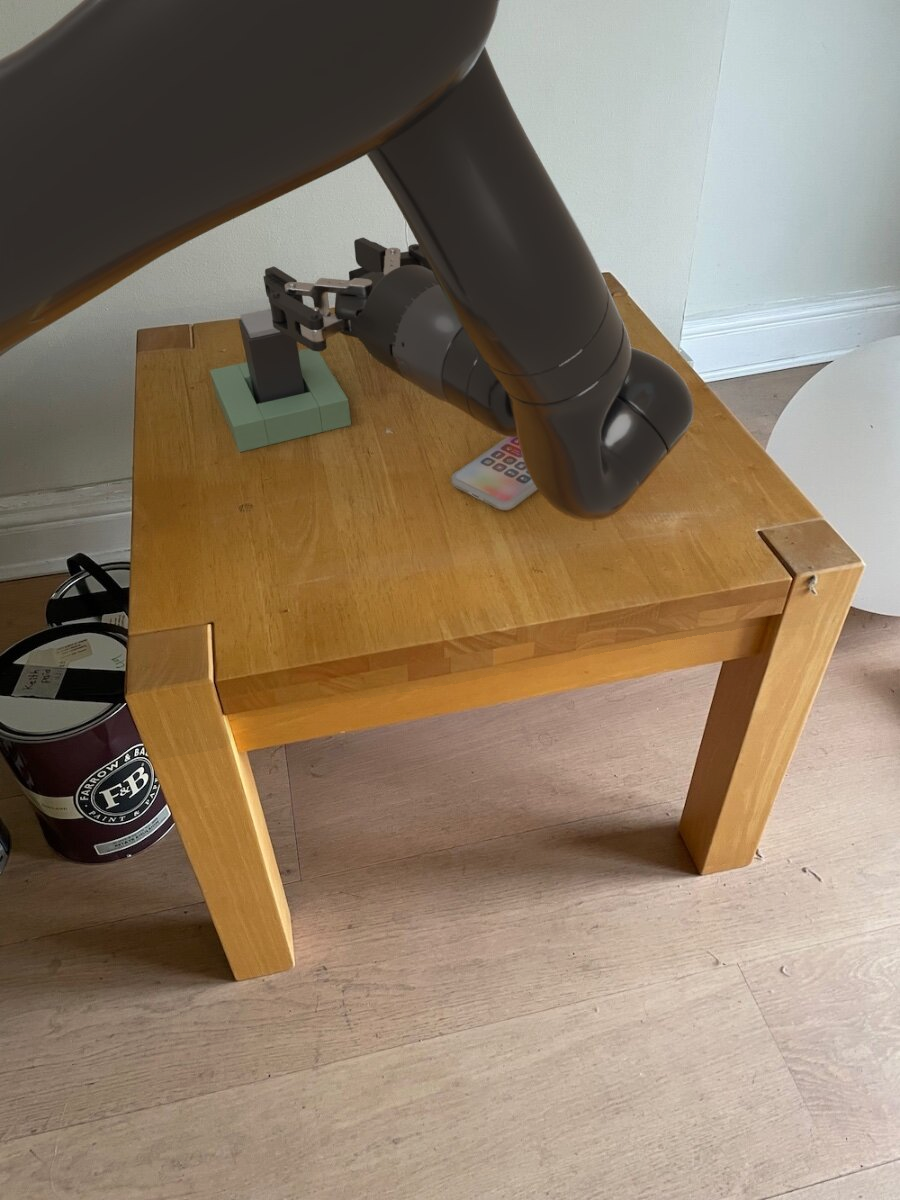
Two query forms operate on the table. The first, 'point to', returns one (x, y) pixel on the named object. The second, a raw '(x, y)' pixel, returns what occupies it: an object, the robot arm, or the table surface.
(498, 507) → the smartphone
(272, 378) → the dark grey tall block
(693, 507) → the table surface
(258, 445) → the frame
